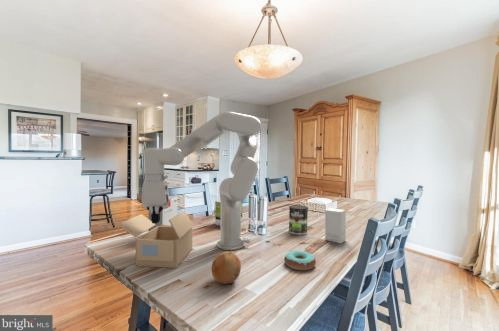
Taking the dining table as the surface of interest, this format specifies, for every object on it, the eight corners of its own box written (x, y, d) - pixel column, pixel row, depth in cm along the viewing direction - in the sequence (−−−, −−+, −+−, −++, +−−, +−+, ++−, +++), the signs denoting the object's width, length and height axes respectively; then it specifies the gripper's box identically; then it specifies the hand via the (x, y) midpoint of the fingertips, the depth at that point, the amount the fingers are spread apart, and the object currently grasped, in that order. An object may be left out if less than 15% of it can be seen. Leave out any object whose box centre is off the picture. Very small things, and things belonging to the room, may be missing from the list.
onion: (222, 272, 88) (222, 244, 87) (246, 279, 83) (246, 250, 82) (204, 284, 79) (205, 254, 79) (230, 293, 74) (230, 260, 74)
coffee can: (305, 235, 130) (306, 209, 129) (286, 233, 133) (287, 207, 133) (308, 230, 139) (309, 205, 139) (290, 228, 143) (291, 204, 142)
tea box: (230, 219, 161) (230, 197, 160) (242, 222, 155) (243, 199, 154) (214, 224, 149) (214, 200, 148) (227, 227, 143) (227, 202, 142)
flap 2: (193, 226, 107) (184, 210, 107) (180, 238, 91) (169, 219, 91) (192, 226, 107) (183, 210, 107) (178, 238, 91) (168, 220, 91)
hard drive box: (162, 242, 117) (162, 201, 116) (147, 241, 118) (147, 200, 118) (177, 232, 132) (177, 196, 131) (165, 231, 134) (164, 195, 133)
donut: (293, 256, 103) (293, 246, 103) (320, 264, 96) (321, 254, 96) (278, 265, 94) (278, 255, 94) (307, 275, 86) (307, 264, 86)
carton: (192, 248, 109) (193, 226, 109) (175, 269, 90) (175, 241, 89) (158, 247, 111) (158, 224, 110) (134, 266, 91) (134, 239, 91)
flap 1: (155, 224, 109) (141, 213, 109) (135, 236, 93) (119, 223, 93) (155, 225, 109) (140, 214, 109) (135, 237, 93) (118, 224, 93)
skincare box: (345, 240, 122) (346, 210, 122) (340, 244, 118) (341, 212, 117) (329, 236, 128) (330, 207, 128) (324, 240, 123) (324, 209, 123)
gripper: (176, 177, 103) (177, 220, 103) (142, 177, 104) (143, 219, 105) (168, 179, 95) (169, 225, 96) (132, 179, 97) (133, 224, 98)
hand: (155, 222), depth 101 cm, fingers closed
